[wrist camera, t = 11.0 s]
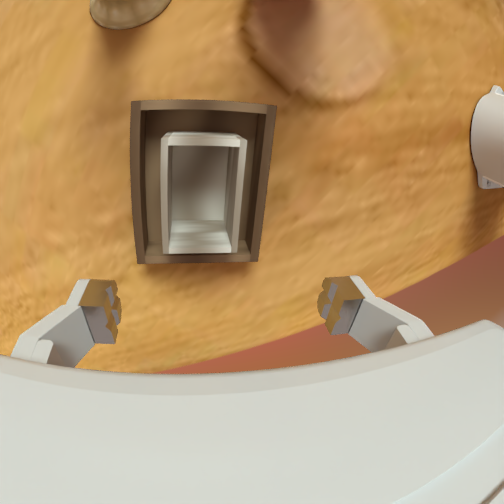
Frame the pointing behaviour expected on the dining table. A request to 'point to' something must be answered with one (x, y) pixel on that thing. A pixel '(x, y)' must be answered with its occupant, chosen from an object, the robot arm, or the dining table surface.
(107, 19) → the hand bell
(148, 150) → the big crate
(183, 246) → the small crate
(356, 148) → the dining table surface
